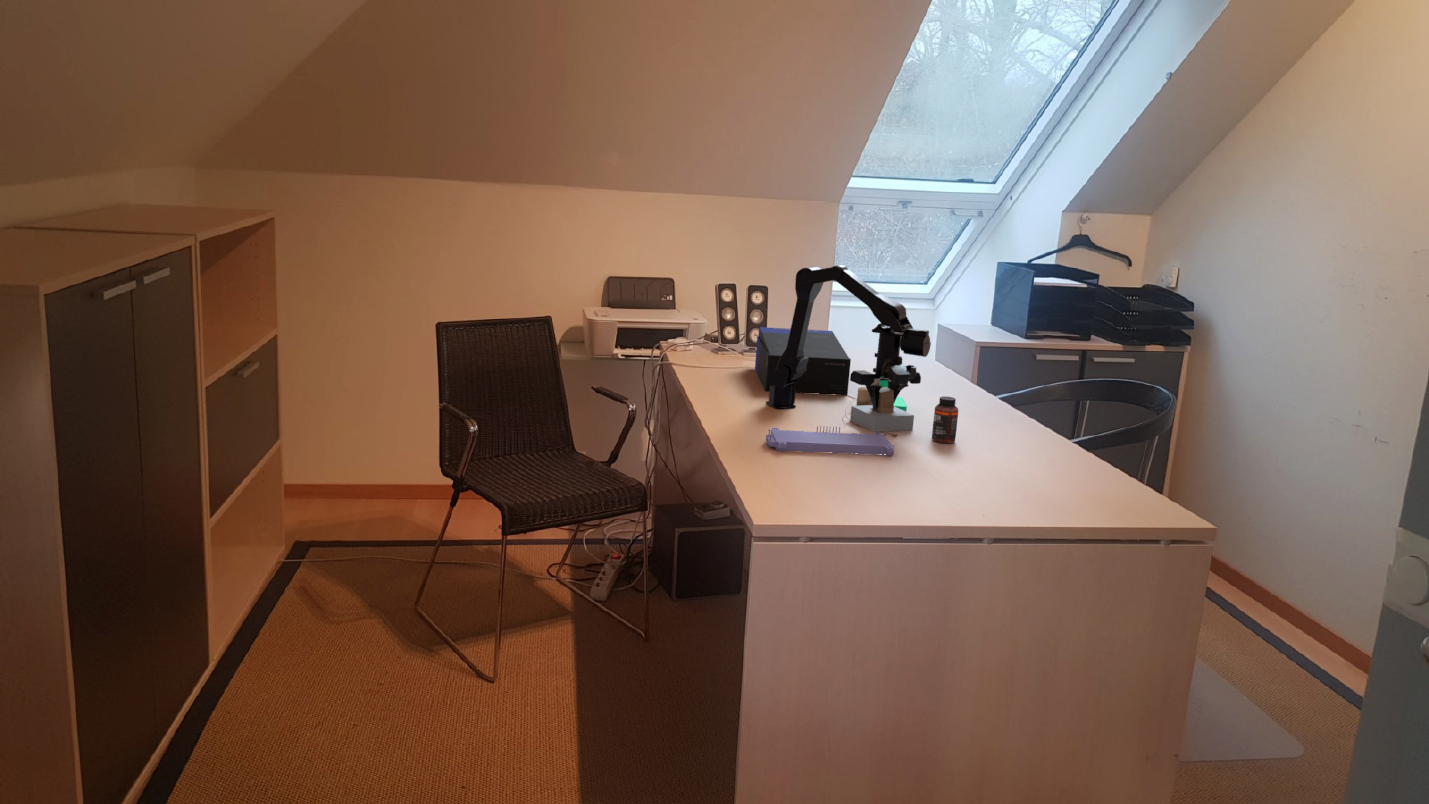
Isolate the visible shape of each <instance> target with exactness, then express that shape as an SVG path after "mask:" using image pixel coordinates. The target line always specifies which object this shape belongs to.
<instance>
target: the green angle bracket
mask: <svg viewBox="0 0 1429 804" xmlns="http://www.w3.org/2000/svg"><path fill="white" fill-rule="evenodd" d="M879 385H881V386H882V388H883V387H886V388H888V380H886V381H880V382H879ZM894 407H897V408H899V409H901V410H903V411H906V412H907V409H908V405H907V404H906V401H905V400H904V397H901V396H897V398H896V400H895V402H894Z"/></svg>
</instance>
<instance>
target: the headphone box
mask: <svg viewBox="0 0 1429 804" xmlns="http://www.w3.org/2000/svg"><path fill="white" fill-rule="evenodd" d="M790 329H791V328H782V327H768V326H767V327H766V326H765V327H763V326H760V327H759V328H758V336H757V338H756V347H755V348H756V351H755V362H754V363H755V364H754V365H755V366H754V371H755V373H756V375H757V377H758V380H759V381H760V383H761V385H762V387H763V388H764V391H765V392H767V393H769V392H770V385H768V381H767V377H769V376H770V375H771V374H772V373H773V372H775V371H776V367H777V365H778V362H779V360H780V357H781V356H782V354H783V353H784V351H785V349H786V347H787V343H788V339H789V334H790ZM803 352H804V357H808V358H809V360H808V363H807V366H806V369H807V371H805V372H804V373H803V375H802V376H801V377H799V378H798V380H797V383H794V385H795V390H796V394H804V393H819V394H818V395H825V394H836V395H835V396H846V395H847V396H848V395H849V394H848V391H849V383H850V382H849V381H850V374H851V360H852V359H851V358H850V357H849V356H848V354H847V353H846V351H845V349H844V348H843V346H842V343H841V342H840V341H839V340H838V338H837V336H836V335H835V333H834V332H833V330H825V329H824V330H821V329H808V330H807V335H806V339H805V344H804V348H803Z"/></svg>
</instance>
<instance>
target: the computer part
mask: <svg viewBox="0 0 1429 804" xmlns="http://www.w3.org/2000/svg"><path fill="white" fill-rule="evenodd" d="M819 427H820V428H819ZM822 428H823V429H822ZM831 428H832V432H831ZM834 429H835V431H834ZM818 430H819V431H818ZM822 430H823V431H822ZM837 430H838V431H837ZM765 440H766V443H767V446H768V447H772V448H775V451H776V450H778V451H777V452H790V451H801V452H800V453H814V452H832V453H831V454H837V453H853V454H852V455H856V454H855V453H858V454H857V455H860V454H882V455H881V456H884V454H886V455H893V456H894V452H895V450H894V449H895V446H894V444H892V443H891V441H890V440H889V439H888V437H887V436H886V435H885V434H882V432H873V433H855V432H854V433H848V432H847V433H843V432H841V427H840V426H839V428H838V427H837V426H836V427H834V426H832V427H831V426H829V431H828V426H826V431H825V426H823V427H822V426H821V425H820V426H819V425H817V426H816V431H804V430H791V429H790V430H787V429H780V428H778V427H772V428H771V429H768V434H766V435H765Z"/></svg>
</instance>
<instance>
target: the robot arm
mask: <svg viewBox="0 0 1429 804" xmlns="http://www.w3.org/2000/svg"><path fill="white" fill-rule="evenodd" d="M832 281H833V282H834V281H835V282H837V283H838V284H840V285H841V286H842V287H843V288H844V289H846V291H848V292H849V293H850V294H852V295H853V296H854V297H856V299H858V300H860V302H862V303H863V304H864V305H866V306H867V307H868V308H869V309H870V311H871V313H872V314H873V316H874V317H875V319H877V320H878V321H879V322H880V323H878V324H877V326H875V328H872V329H871V332H872V333H874V334H879V336H878V344H877V352H874V355H873V356H874V357H875V358H876V364H875V367H873V368H872V372H873V373H871V372H870V371H868V370H865V369H864V370H859V369H858V370H853V371H852V372H850V375H849V381H850V382H853V383H855V384H857V385H860V386H864V387H866V388H867V390H868V392H869V395H870V398H871V401H872V404H873V407H874V409H877V407H878V400H879V391H880V389H881V388H882V386H881V385H879V382H880V381H886V380H888V388H889V389H891V390H894V402H895V400H896V398H897V397H899V395H900V393H901V391H902V390H903V389H905V388H908V387H909V386H910V385H909V383H910V384H911V385H913V384H916V385H918V384H921V383H922V382H921V380H922V376H921V374H920V372H918V371H917V366H916V365H915V364H908V365H905V364H903V357H902V356H900V352H903V354H904V355H912V356H917V357H921V358H922V357H924V358H927V356H928V355H929V353H930V350H931V345H932V344H931V343H932V342H931V337H930V335H929V334H930V331H929V330H927V329H915V328H914V327H913V325H912V324H911V321H910V320H909V318H908V316H907V309H906V307H905V306H904V305H903V304H902V303H900V302H898V301H896V300H895V299H892V298H889V297H887V296H884V295H882V294H881V293H879V292H877V290H876V289H874V288H873V287H872V286H870V285H869V284H868V283H866V282H865V281H864V280H862V279H861V278H860V277H859V276H858V275H856V274H855V273H854V272H853V271H851V270H850V269H848V267H847V266H846V265H843V264H838V265H833V266H831V267H826V268H821V267H818V266H815V265H813V266H809V267H807V266H806V267H803V268H801V269H799V270H798V271H797V272H796V275H795V283H794V285H795V286H794V289H795V295H796V301H795V302H796V303H795V307H794V311H793V316H792V320H791V326H790V328H789V329H790V334H789V339H788V343H787V347H786V349H785V351H784V353H783V354H782V356H781V357H780V360H779V362H778V365H777V367H776V371H775V372H773V373H772V374H771V375H770V376H769V377H767V381H768V385H770V392H768V393H769V394H768V400H767V401H765V404H767V405H768V406H770V407H773V408H775V409H791V408H793V409H795V408H796V407H797V406H796V405H795V403H796V394H797V393H796V390H795V385H794V383H797V380H798V378H799V377H801V376H802V375H803V373H804V372H805V371H807V369H806V366H807V363H808V360H809V358H808V357H804V352H803V348H804V344H805V339H806V335H807V330H809V325H810V320H811V315H812V312H813V308H814V307H813V306H814V303H815V300H816V298H817V297H818V295H819V294H820V292H821V291H822V287H823V285H824V283H825V282H832Z"/></svg>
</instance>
